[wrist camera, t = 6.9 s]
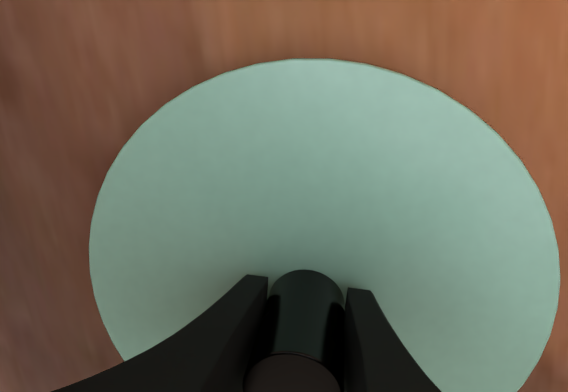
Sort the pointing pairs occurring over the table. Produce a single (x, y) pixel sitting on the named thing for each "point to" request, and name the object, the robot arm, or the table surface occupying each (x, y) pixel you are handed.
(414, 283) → the lid
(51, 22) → the table surface
